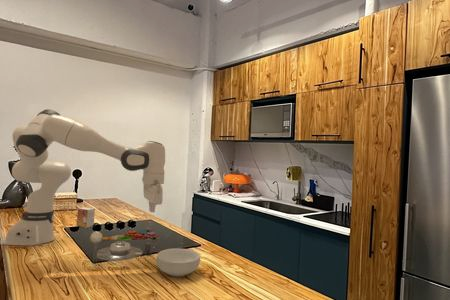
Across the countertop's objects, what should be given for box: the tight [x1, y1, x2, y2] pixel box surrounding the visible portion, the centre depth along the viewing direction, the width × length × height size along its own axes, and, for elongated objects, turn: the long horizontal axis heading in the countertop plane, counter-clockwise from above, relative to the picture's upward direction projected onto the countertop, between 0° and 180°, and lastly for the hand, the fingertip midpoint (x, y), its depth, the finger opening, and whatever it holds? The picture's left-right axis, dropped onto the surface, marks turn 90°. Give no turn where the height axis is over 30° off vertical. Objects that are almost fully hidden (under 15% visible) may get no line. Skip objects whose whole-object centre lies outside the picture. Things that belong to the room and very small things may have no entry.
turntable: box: [97, 242, 152, 262], centre depth 138 cm, size 23×20×6 cm
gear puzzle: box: [101, 227, 161, 242], centre depth 164 cm, size 31×16×4 cm, turn 130°
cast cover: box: [110, 240, 131, 256], centre depth 138 cm, size 8×8×5 cm
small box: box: [76, 206, 96, 229], centre depth 186 cm, size 8×6×10 cm
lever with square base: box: [89, 231, 103, 264], centre depth 125 cm, size 4×5×14 cm
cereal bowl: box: [156, 247, 201, 277], centre depth 123 cm, size 17×17×7 cm
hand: (151, 211), depth 134 cm, fingers closed
